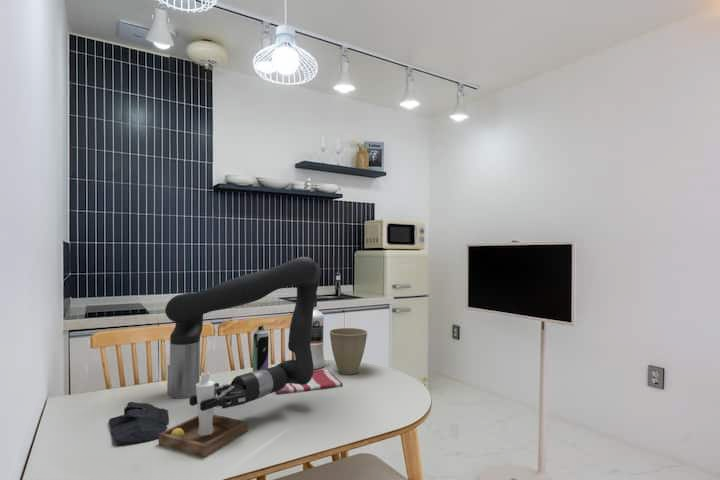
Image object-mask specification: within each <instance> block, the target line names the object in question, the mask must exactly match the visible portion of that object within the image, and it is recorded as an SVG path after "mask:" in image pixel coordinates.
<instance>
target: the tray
mask: <svg viewBox="0 0 720 480" xmlns="http://www.w3.org/2000/svg"><path fill="white" fill-rule="evenodd" d="M248 424H249V423H248V421H244V420H239V419H237V418H231V417H227V416H223V415H218V414H214V413H213V423H212V425H213V428H214V431H213V433H212V434H209V435H203V436H201V435H200V434H199V433H198V430H199V416H198V415H196V416H193V417H192V418H190V419H187V420H185V421H183V422H181V423H179V424H176V425H174V426H172V427H171V428H167V430H166V431H164V432H162V433H160V434H159V439H158V445H160V446H164V447H165V448H169V449H174V450H176V451H180V452H184V453H187V454H190V455H194V456H197V457H200V458H204V459H205V458H207V457H209V456H210V455H211V454H213V453H215V452H216V451H218V450H220V449H222V448H223V447H225V446H227V445H228V444H230V443H231V442H234V441H235V440H236V439H238V438H240V437H241V436H243V435H244V434H246V433H248V426H249V425H248ZM176 428H181V429H183V431H184V438H181V437H177V436H174V435H171V432H172V431H173V430H174V429H176Z"/></svg>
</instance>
